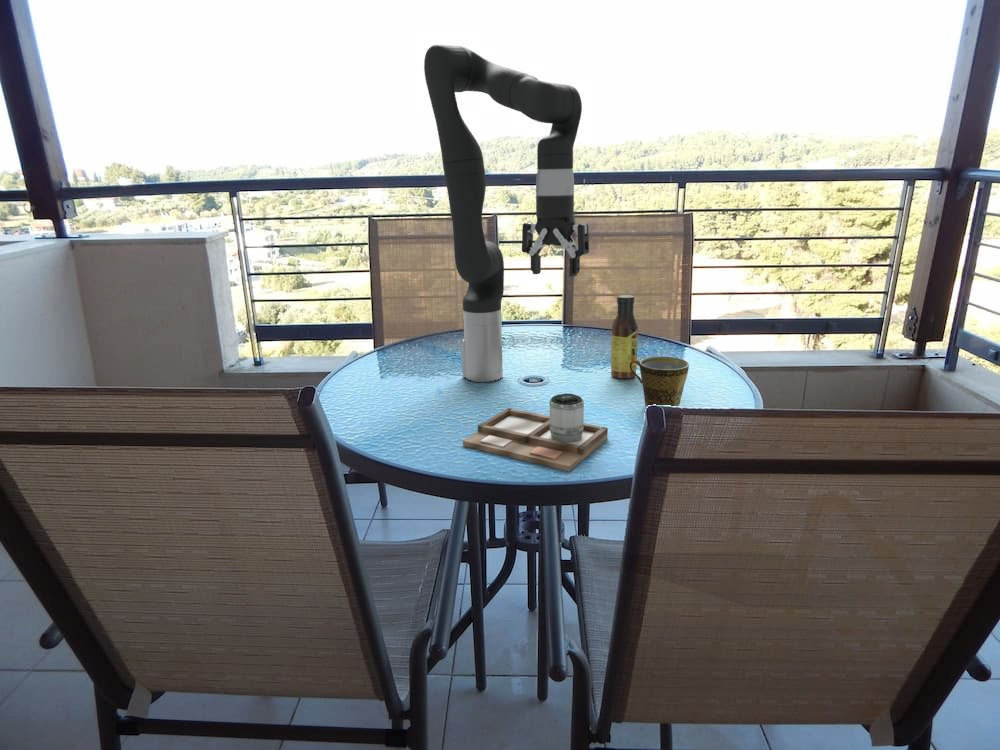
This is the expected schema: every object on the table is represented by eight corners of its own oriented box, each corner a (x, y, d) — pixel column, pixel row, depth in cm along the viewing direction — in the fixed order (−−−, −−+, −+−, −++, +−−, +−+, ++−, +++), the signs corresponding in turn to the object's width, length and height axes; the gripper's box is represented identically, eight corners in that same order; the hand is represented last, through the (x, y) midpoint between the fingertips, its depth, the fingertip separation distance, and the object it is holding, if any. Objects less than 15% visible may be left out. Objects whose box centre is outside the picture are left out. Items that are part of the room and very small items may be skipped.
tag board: (463, 445, 116) (462, 434, 116) (508, 418, 129) (507, 408, 128) (569, 471, 105) (569, 459, 104) (607, 438, 118) (607, 427, 117)
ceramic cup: (694, 406, 133) (697, 361, 130) (672, 420, 126) (675, 372, 123) (640, 394, 141) (641, 351, 138) (616, 406, 134) (617, 361, 131)
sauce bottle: (636, 380, 151) (639, 299, 145) (610, 379, 152) (612, 298, 146) (636, 372, 157) (639, 294, 151) (611, 371, 158) (613, 293, 152)
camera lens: (589, 439, 114) (590, 399, 112) (558, 445, 112) (559, 404, 110) (573, 428, 120) (573, 389, 118) (543, 433, 118) (543, 394, 115)
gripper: (595, 192, 123) (593, 274, 128) (533, 193, 131) (533, 270, 136) (579, 193, 117) (577, 279, 122) (514, 194, 125) (515, 275, 130)
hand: (554, 274), depth 129 cm, fingers open, 8 cm apart
